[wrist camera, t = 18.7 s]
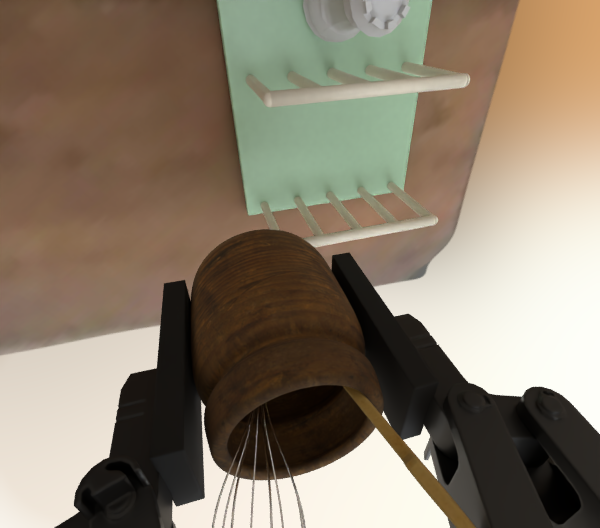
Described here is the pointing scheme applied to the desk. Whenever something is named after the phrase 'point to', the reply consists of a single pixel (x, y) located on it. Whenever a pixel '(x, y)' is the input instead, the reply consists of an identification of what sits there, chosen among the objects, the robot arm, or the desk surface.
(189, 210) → the desk surface
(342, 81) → the drying rack
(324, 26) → the rook chess piece
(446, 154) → the desk surface
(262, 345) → the utensil holder
